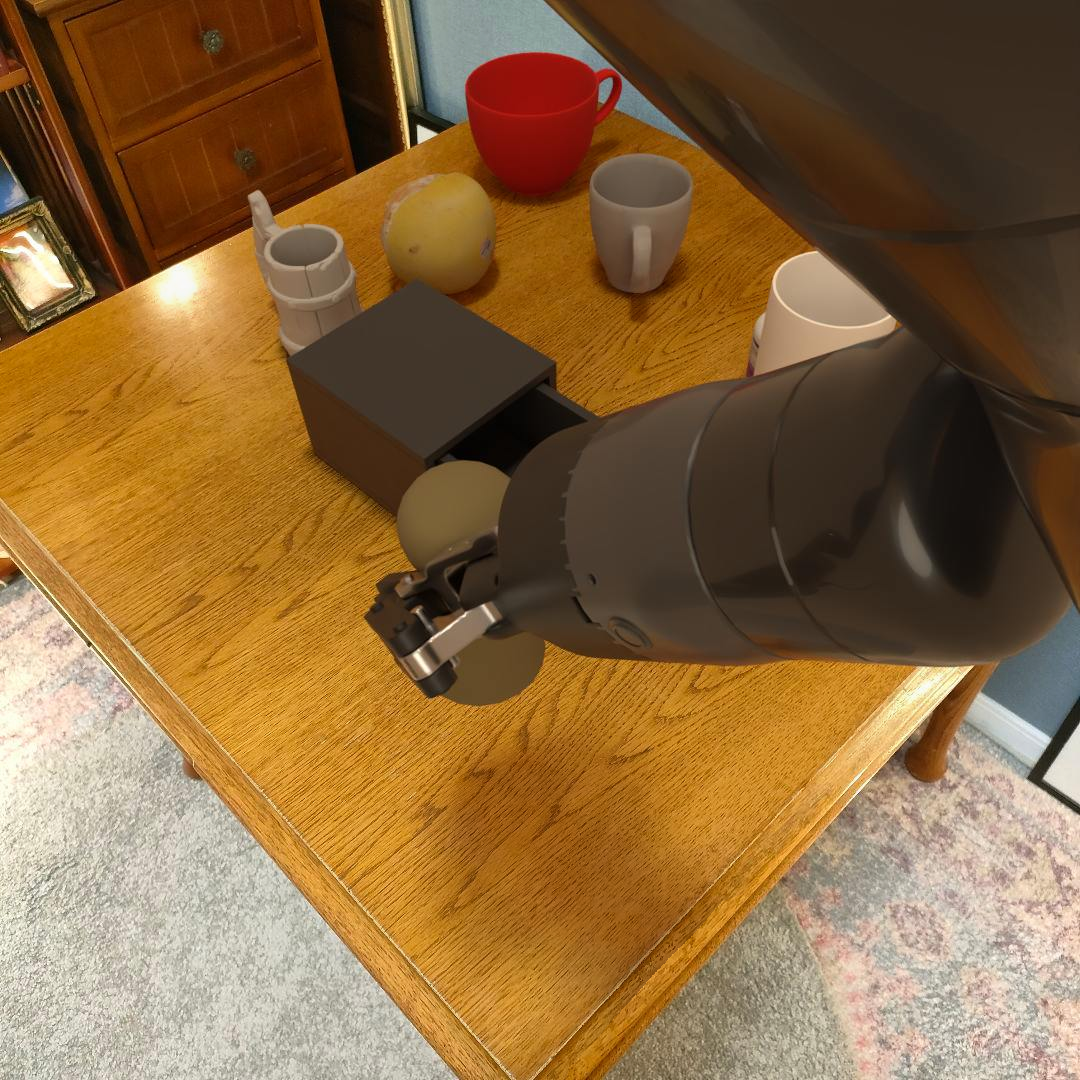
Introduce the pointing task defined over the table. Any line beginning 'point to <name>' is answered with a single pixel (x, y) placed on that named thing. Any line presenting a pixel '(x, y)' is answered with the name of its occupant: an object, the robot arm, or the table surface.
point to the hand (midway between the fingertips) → (442, 561)
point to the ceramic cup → (536, 117)
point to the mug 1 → (304, 276)
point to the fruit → (440, 232)
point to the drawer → (518, 429)
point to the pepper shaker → (446, 517)
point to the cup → (815, 313)
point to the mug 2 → (639, 218)
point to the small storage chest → (408, 387)
